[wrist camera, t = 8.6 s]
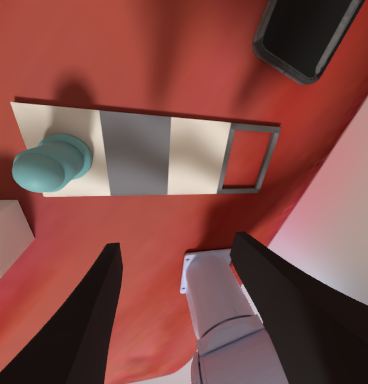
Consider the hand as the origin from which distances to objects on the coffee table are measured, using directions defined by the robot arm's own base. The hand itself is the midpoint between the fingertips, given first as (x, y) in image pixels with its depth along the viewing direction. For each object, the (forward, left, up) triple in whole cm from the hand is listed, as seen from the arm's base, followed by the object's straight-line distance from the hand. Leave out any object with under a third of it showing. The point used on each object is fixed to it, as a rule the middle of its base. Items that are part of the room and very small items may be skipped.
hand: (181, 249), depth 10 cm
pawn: (+3, +9, -9) cm, 13 cm away
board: (+3, 0, -9) cm, 10 cm away
